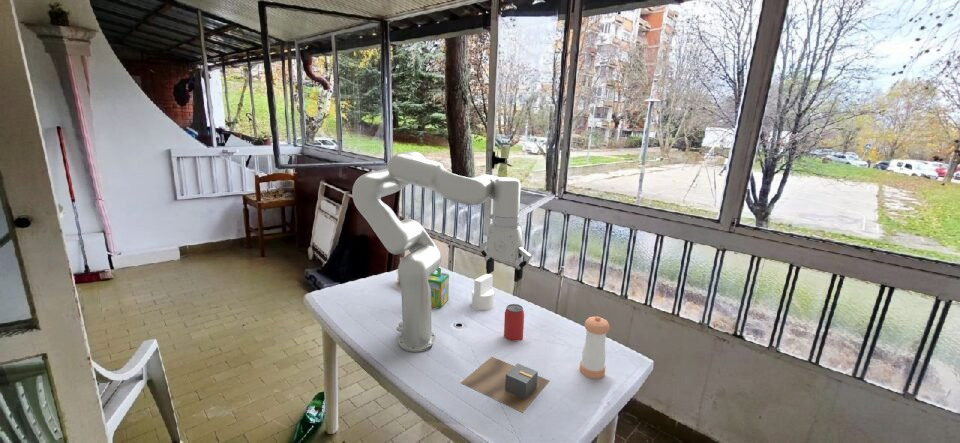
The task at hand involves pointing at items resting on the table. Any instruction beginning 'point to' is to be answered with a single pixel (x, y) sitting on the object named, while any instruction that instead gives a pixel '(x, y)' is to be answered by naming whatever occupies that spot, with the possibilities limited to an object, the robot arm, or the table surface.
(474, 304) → the cylinder with rectangular tab
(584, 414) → the table surface
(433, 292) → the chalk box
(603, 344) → the pepper shaker
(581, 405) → the table surface
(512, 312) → the beer can
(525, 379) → the grey cube with stripe
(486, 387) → the base plate
